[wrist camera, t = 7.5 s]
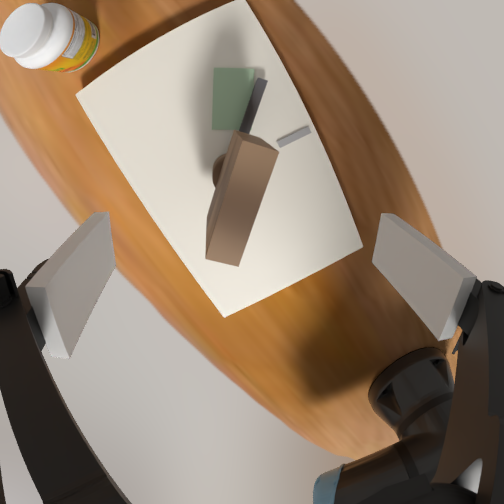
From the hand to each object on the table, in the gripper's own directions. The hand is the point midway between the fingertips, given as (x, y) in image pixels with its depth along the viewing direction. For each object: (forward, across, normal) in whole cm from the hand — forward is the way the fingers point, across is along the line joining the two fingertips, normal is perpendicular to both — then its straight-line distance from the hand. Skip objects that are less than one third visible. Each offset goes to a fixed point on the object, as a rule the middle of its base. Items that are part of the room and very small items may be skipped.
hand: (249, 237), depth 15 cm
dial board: (+15, 0, -1) cm, 15 cm away
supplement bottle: (+15, +15, -13) cm, 25 cm away
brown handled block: (+13, 0, -3) cm, 13 cm away
